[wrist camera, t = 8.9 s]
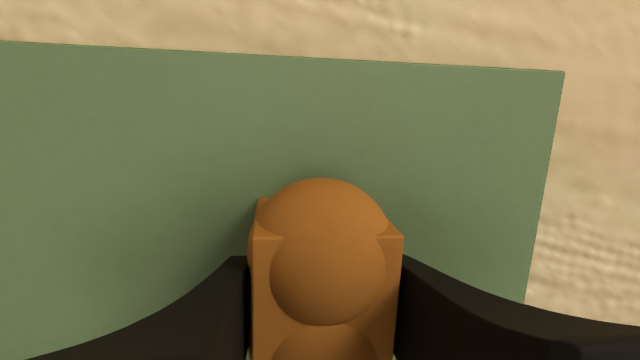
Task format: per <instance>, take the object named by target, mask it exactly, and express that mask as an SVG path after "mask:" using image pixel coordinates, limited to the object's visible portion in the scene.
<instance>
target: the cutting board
mask: <svg viewBox="0 0 640 360" xmlns="http://www.w3.org/2000/svg"><path fill="white" fill-rule="evenodd" d="M564 77H565V72H564V71H552V70H534V69H515V68H497V67H479V66H460V65H442V64H423V63H405V62H386V61H368V60H349V59H331V58H312V57H294V56H275V55H257V54H238V53H220V52H201V51H183V50H164V49H146V48H127V47H109V46H90V45H72V44H53V43H35V42H17V41H0V360H25V359H29V358H33V357H37V356H40V355H44V354H47V353H51V352H54V351H58V350H61V349H65V348H68V347H72V346H75V345H78V344H81V343H84V342H87V341H90V340H93V339H96V338H99V337H101V336H104V335H107V334H109V333H112V332H114V331H117V330H119V329H122V328H124V327H126V326H129V325H131V324H133V323H135V322H137V321H139V320H141V319H143V318H145V317H147V316H149V315H151V314H154V313H155V312H157V311H159V310H161V309H163V308H164V307H166V306H168V305H169V304H171V303H173V302H174V301H176V300H177V299H179V298H180V297H182V296H183V295H185V294H186V293H188V292H189V291H190V290H191V289H193V288H194V287H195V286H197V285H198V284H199V283H201V282H202V281H203V280H205V279H206V278H207V277H208V276H209V275H210V274H211V273H213V272H214V271H215V270H216V269H217V268H218V267H219V266H220V265H221V264H222V263H223V262H225V261H226V260H227V259H228V258H229V257H230V256H245V255H247V244H248V238H249V233H250V230H251V227H252V225H253V222H254V218H255V212H256V206H257V200H258V198H271V197H272V196H273V195H274V194H276V193H277V192H278V191H279V190H281V189H283V188H284V187H286V186H288V185H290V184H292V183H294V182H297V181H300V180H304V179H309V178H321V177H322V178H333V179H337V180H342V181H345V182H347V183H350V184H352V185H354V186H356V187H358V188H359V189H361V190H362V191H364V192H365V193H366V194H368V195H369V196H370V197H371V198H372V199H373V200H374V201H375V202H376V203H377V204H378V206H379V207H380V208H381V210H382V211H383V213H384V214H385V216H386V218H387V219H388V220H389V221H390V222H391V223H392V224H393V225H394V226H395V227H396V229H397V230H398V231H399V232H400V233H401V234H402V235H403V236H404V244H403V254H404V255H407V256H409V257H412V258H414V259H416V260H418V261H420V262H422V263H424V264H426V265H428V266H430V267H432V268H434V269H436V270H438V271H440V272H442V273H444V274H446V275H448V276H451V277H453V278H455V279H457V280H459V281H462V282H464V283H466V284H469V285H471V286H473V287H476V288H478V289H481V290H483V291H486V292H488V293H491V294H494V295H497V296H500V297H503V298H506V299H508V300H512V301H515V302H518V303H522V304H524V299H525V293H526V288H527V282H528V277H529V271H530V266H531V260H532V255H533V249H534V243H535V238H536V232H537V227H538V221H539V216H540V210H541V205H542V199H543V193H544V188H545V182H546V177H547V171H548V166H549V160H550V155H551V149H552V143H553V138H554V132H555V127H556V121H557V116H558V110H559V105H560V99H561V94H562V88H563V82H564ZM246 360H250V359H249V354H248V351H247V356H246ZM392 360H396V358H395V356H394V354H393V359H392Z"/></svg>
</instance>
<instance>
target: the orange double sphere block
mask: <svg viewBox="0 0 640 360" xmlns="http://www.w3.org/2000/svg"><path fill="white" fill-rule="evenodd" d="M403 244H404V236H403V235H402V234H401V233H400V232H399V231H398V230H397V229H396V227H395V226H394V225H393V224H392V223H391V222H390V221H389V220H388V219H387V218H386V216H385V214H384V213H383V211H382V210H381V208H380V207H379V206H378V204H377V203H376V202H375V201H374V200H373V199H372V198H371V197H370V196H369V195H368V194H366V193H365V192H364V191H362V190H361V189H359V188H358V187H356V186H354V185H352V184H350V183H347V182H345V181H342V180H337V179H333V178H322V177H321V178H309V179H304V180H300V181H297V182H294V183H292V184H290V185H288V186H286V187H284V188H283V189H281V190H279V191H278V192H277V193H276V194H274V195H273V196H272V197H271V198H258V200H257V206H256V212H255V218H254V222H253V225H252V227H251V230H250V233H249V238H248V244H247V262H248V268H249V272H250V276H251V320H250V326H249V341H248V354H249V359H250V360H392V359H393V349H394V338H395V328H396V317H397V307H398V296H399V286H400V275H401V265H402V254H403Z"/></svg>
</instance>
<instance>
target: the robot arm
mask: <svg viewBox="0 0 640 360" xmlns="http://www.w3.org/2000/svg"><path fill="white" fill-rule="evenodd" d="M250 320H251V276H250V272H249V268H248V262H247V255H245V256H230V257H229V258H228V259H227V260H226V261H225V262H223V263H222V264H221V265H220V266H219V267H218V268H217V269H216V270H215V271H214V272H213V273H211V274H210V275H209V276H208V277H207V278H206V279H205V280H203V281H202V282H201V283H199V284H198V285H197V286H195V287H194V288H193V289H191V290H190V291H189V292H188V293H186V294H185V295H183V296H182V297H180V298H179V299H177V300H176V301H174V302H173V303H171V304H169V305H168V306H166V307H164V308H163V309H161V310H159V311H157V312H155V313H154V314H151V315H149V316H147V317H145V318H143V319H141V320H139V321H137V322H135V323H133V324H131V325H129V326H126V327H124V328H122V329H119V330H117V331H114V332H112V333H109V334H107V335H104V336H101V337H99V338H96V339H93V340H90V341H87V342H84V343H81V344H78V345H75V346H72V347H68V348H65V349H61V350H58V351H54V352H51V353H47V354H44V355H40V356H37V357H33V358H29V359H25V360H246V356H247V351H248V341H249V326H250ZM393 354H394V356H395V358H396V360H640V327H639V326H631V325H624V324H616V323H609V322H602V321H596V320H591V319H585V318H580V317H575V316H570V315H565V314H561V313H556V312H552V311H548V310H544V309H540V308H536V307H533V306H529V305H525V304H522V303H518V302H515V301H512V300H508V299H506V298H503V297H500V296H497V295H494V294H491V293H488V292H486V291H483V290H481V289H478V288H476V287H473V286H471V285H469V284H466V283H464V282H462V281H459V280H457V279H455V278H453V277H451V276H448V275H446V274H444V273H442V272H440V271H438V270H436V269H434V268H432V267H430V266H428V265H426V264H424V263H422V262H420V261H418V260H416V259H414V258H412V257H409V256H407V255H404V254H402V265H401V275H400V286H399V296H398V307H397V317H396V328H395V338H394V349H393Z"/></svg>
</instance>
